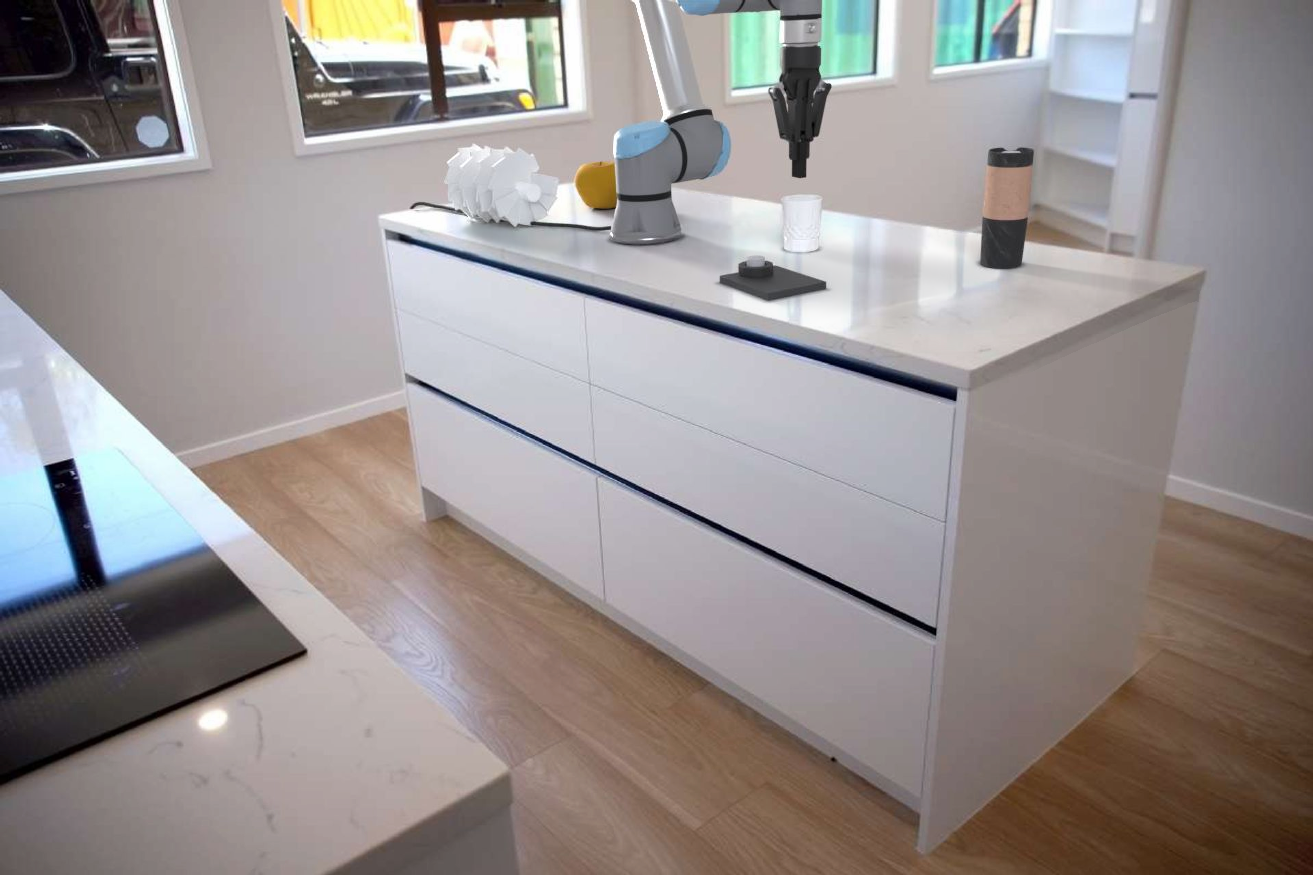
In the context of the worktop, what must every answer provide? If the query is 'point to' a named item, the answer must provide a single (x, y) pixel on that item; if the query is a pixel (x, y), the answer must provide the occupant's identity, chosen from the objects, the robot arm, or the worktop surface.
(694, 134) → the robot arm
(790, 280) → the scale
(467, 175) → the spiral staircase
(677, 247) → the worktop surface
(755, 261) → the button
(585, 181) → the apple
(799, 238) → the white cup
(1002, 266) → the travel mug
